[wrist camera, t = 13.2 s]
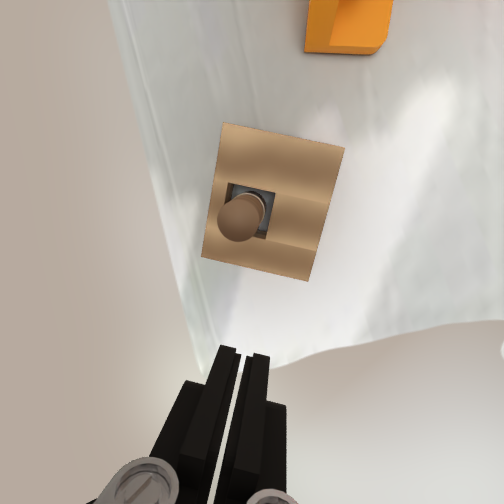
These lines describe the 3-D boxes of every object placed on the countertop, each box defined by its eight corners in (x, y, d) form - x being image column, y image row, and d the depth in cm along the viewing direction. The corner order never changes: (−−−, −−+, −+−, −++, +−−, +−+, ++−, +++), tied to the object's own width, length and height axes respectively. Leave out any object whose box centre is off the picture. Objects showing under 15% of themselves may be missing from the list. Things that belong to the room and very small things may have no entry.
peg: (238, 187, 35) (220, 194, 26) (270, 194, 35) (264, 204, 25) (232, 219, 36) (212, 237, 27) (263, 226, 36) (255, 247, 26)
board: (230, 127, 33) (223, 122, 30) (338, 150, 33) (345, 147, 29) (209, 247, 37) (201, 256, 34) (305, 269, 37) (308, 281, 33)
